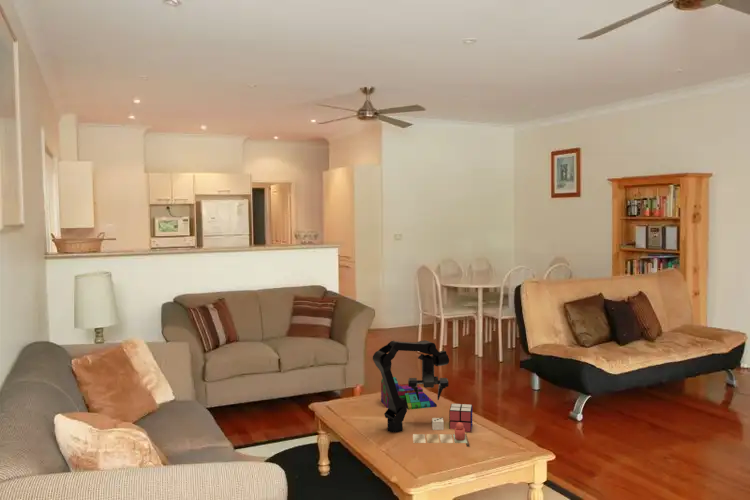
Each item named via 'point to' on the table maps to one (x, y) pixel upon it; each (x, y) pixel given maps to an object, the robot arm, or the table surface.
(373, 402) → the table surface
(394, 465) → the table surface
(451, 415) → the puzzle cube
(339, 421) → the table surface
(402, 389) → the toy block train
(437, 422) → the die
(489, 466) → the table surface
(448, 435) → the board
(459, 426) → the pawn
